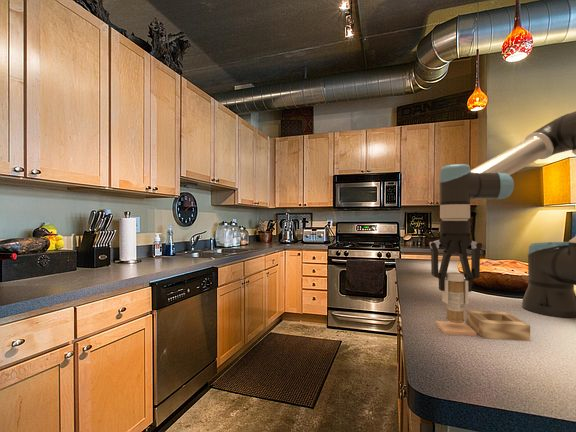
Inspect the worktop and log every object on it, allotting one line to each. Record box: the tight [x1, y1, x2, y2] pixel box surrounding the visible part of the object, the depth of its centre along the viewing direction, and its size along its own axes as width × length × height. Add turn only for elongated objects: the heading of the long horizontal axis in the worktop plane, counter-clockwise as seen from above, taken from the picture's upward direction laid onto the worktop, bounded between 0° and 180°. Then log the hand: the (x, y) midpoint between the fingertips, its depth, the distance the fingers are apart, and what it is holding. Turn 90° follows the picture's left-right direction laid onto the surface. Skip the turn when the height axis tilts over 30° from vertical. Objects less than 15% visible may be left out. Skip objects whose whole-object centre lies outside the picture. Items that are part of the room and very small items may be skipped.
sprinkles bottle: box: [445, 271, 465, 323], centre depth 87 cm, size 5×5×14 cm
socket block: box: [465, 309, 531, 342], centre depth 85 cm, size 11×11×4 cm
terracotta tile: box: [435, 320, 478, 337], centre depth 87 cm, size 8×8×1 cm
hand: (455, 302), depth 87 cm, fingers closed on sprinkles bottle, 4 cm apart
